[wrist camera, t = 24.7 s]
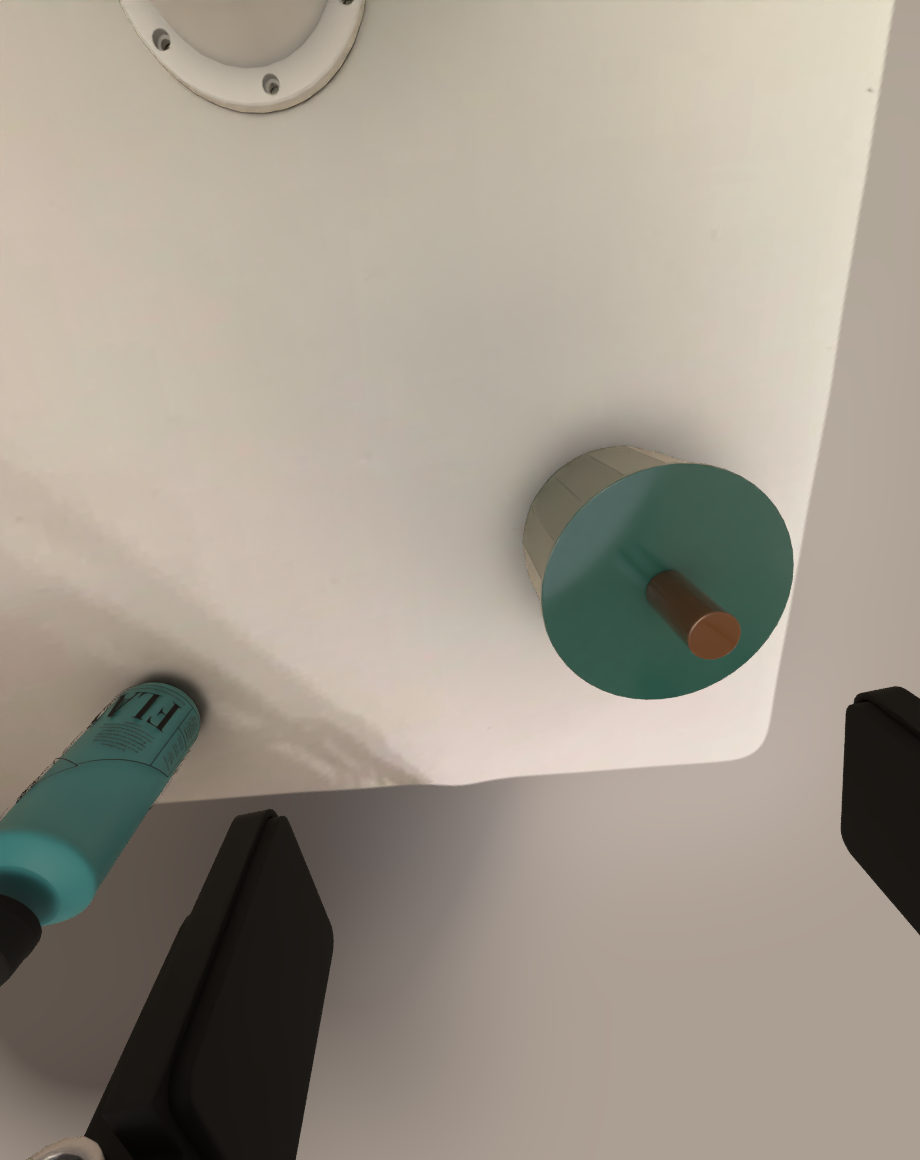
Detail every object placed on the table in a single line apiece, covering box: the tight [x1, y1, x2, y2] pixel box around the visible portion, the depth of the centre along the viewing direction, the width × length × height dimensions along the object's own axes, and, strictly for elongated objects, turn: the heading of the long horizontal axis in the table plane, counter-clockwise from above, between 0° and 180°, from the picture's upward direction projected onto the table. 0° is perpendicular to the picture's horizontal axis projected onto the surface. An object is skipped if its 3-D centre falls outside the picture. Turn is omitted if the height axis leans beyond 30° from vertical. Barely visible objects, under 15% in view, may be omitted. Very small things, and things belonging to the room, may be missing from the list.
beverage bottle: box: [0, 682, 200, 986], centre depth 33 cm, size 6×7×20 cm
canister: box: [523, 446, 683, 600], centre depth 35 cm, size 13×13×10 cm
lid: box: [540, 462, 794, 700], centre depth 28 cm, size 14×14×7 cm
